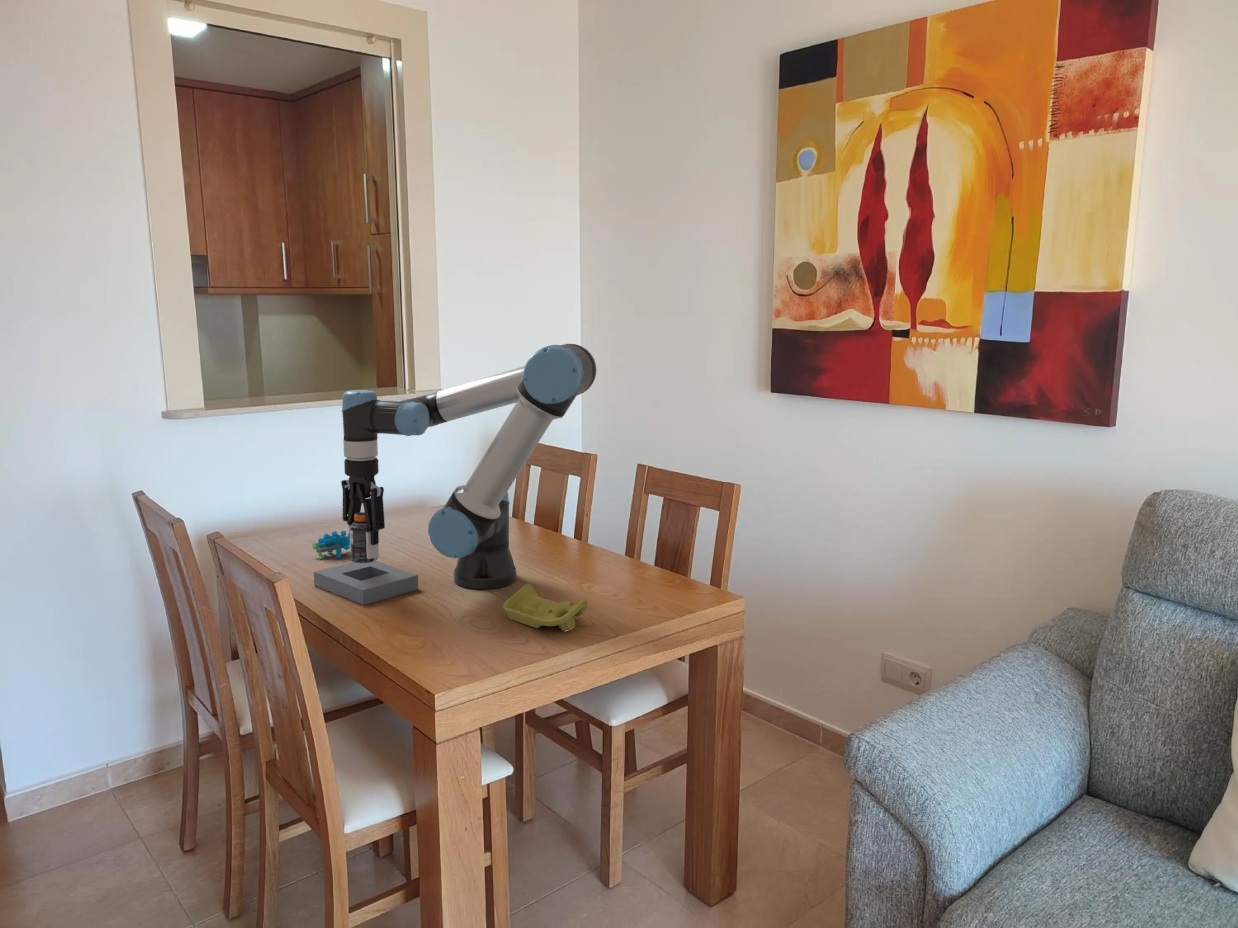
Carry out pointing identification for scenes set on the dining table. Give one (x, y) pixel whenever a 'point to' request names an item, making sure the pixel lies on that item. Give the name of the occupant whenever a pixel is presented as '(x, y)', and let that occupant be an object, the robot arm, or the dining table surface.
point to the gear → (332, 543)
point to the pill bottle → (359, 539)
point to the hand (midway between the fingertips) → (364, 554)
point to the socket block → (366, 581)
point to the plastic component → (542, 610)
